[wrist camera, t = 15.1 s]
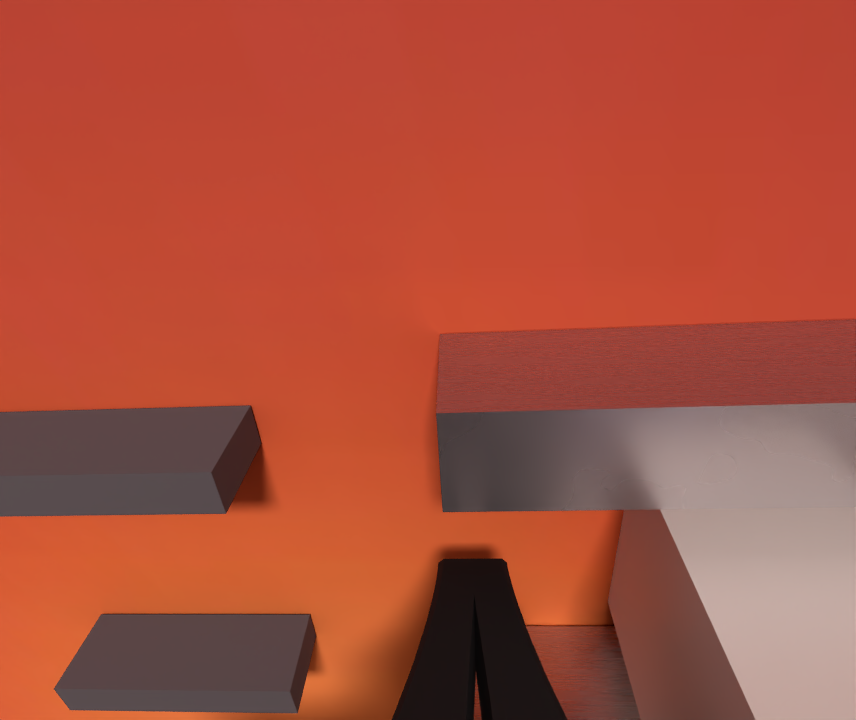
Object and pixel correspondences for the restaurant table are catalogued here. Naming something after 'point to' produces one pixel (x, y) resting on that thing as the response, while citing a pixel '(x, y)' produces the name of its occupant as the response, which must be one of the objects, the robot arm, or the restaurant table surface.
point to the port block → (643, 441)
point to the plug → (738, 612)
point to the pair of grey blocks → (146, 495)
